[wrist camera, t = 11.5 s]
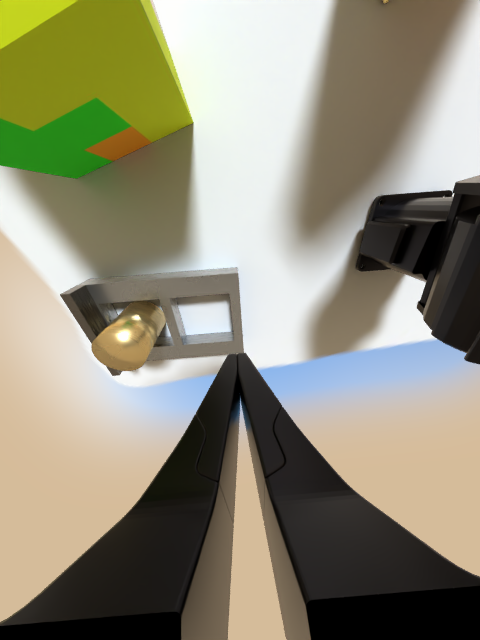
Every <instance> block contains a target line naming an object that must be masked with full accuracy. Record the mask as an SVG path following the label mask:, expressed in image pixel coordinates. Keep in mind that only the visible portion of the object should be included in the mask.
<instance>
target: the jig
mask: <svg viewBox="0 0 480 640" xmlns="http://www.w3.org/2000/svg"><path fill="white" fill-rule="evenodd" d="M217 294H230V304H231V313H232V323H233V332H224V333H211V334H199V335H187V336H186V333H185V330H184V326H183V323H182V319H181V315H180V312H179V308H178V305H177V301H176V298H179V297H192V296H204V295H217ZM60 296H61V297H62V299H63V300H64V302H65V303H66V305H67V306H68V308H69V309H70V311H71V313H72V314H73V316H74V317H75V319H76V320H77V322H78V323H79V325H80V326H81V328H82V330H83V331H84V333H85V334H86V336H87V337H88V339H89V340H90V342H91V343H92V342H93V341H94V340H95V339H96V338H97V337H98V336H99V335H100V334H101V333H102V332H103V331H104V330H105V329H106V328H107V326H108V325H109V324H110V323H111V322H112V321H113V320H114V319H115V318H116V317H117V316H118V315H117V313H116V311H115V309H114V307H113V305H112V303H116V302H129V301H141V300H154V299H159V301H160V304H161V307H162V310H163V313H164V316H165V319H166V322H167V325H168V328H169V331H170V334H171V337H162V338H158V339H157V340H156V342H155V344H154V346H153V348H152V350H151V352H150V354H149V355H148V357H147V359H146V361H150V360H162V359H174V358H186V357H198V356H210V355H222V354H235V353H244V349H243V335H242V321H241V307H240V293H239V279H238V268H237V267H236V268H223V269H210V270H197V271H185V272H172V273H159V274H146V275H134V276H121V277H108V278H95V279H88V280H87V281H85V282H83V283H81V284H79V285H77V286H75V287H73V288H71V289H69V290H68V291H66V292H64V293H62V294H60ZM107 368H108V370H109V371H110V373H111V374H112V376H116V375H120V374H121V372H122V371H121V370H116V369H113V368H110V367H108V366H107Z"/></svg>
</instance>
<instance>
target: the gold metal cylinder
mask: <svg viewBox="0 0 480 640" xmlns="http://www.w3.org/2000/svg"><path fill="white" fill-rule="evenodd" d="M165 322H166V319H165V316H164V313H163V312H162V310H161V309H160V308H159V307H158V306H156V305H155V304H153V303H150V302H147V301H135V302H132V303H131V304H129V305H128V306H127V307H126V308H125V309H124V310H123V311H122V312H121V313H120V314H119V315H118V316H117V317H116V318H115V319H114V320H113V321H112V322H111V323H110V324H109V325H108V326H107V328H106V329H105V330H104V331H103V332H102V333H101V334H100V335H99V336H98V337H97V338H96V339H95V340H94V341H93V342H92V352H93V354H94V356H95V357H96V358H97V359H98V360H99V361H100V362H101V363H103V364H104V365H106V366H108V367H110V368H113V369H116V370H121V371H132V370H136V369H138V368H140V367H142V366H143V364H144V363H145V361H146V359H147V357H148V355H149V354H150V352H151V350H152V348H153V346H154V344H155V342H156V340H157V339H158V337H159V335H160V333H161V331H162V329H163V327H164V326H165Z"/></svg>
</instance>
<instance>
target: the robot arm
mask: <svg viewBox="0 0 480 640" xmlns="http://www.w3.org/2000/svg"><path fill="white" fill-rule="evenodd" d="M453 193H455V194H454V197H452V191H450V190H446V191H433V192H420V193H407V194H393V195H381V196H378V197H377V198H376V199H375V200H374V203H373V206H372V210H371V213H370V217H369V220H368V224H367V225H366V229H365V233H364V236H363V240H362V243H361V247H360V251H359V252H360V253H359V256H358V260H357V264H356V269H357V270H358V271H373V270H386V269H393V270H396V271H398V272H401V273H403V274H406V275H409V276H411V277H414V278H416V279H419V280H421V281H424V282H426V285H425V288H424V291H423V294H422V297H421V300H420V301H418V304H417V309H418V310H419V311H420V312H421V313H422V315H423V319H424V321H425V323H426V324H427V325H428V326H429V328H430V329H431V330H432V332H431V334H432V335H433V336H434V337H435V338H437V339H438V340H440V341H442V342H443V343H445V344H447V345H449V346H451V347H453V348H455V349H458V350H460V351H463V352H465V353H467V354H466V356H465V358H464V359H465V360H466V361H468V362H472V363H476V364H480V175H479V176H476V177H472V178H469V179H465V180H462V181H458V182H456V183H455V186H454V190H453ZM444 195H445V196H444ZM381 199H382V203H381V204H380V205H379V202H380V200H381ZM362 264H363V266H362V267H361V265H362ZM240 398H241V405H242V410H243V415H244V420H245V426H246V431H247V436H248V441H249V447H250V452H251V457H252V462H253V468H254V473H255V478H256V483H257V488H258V493H259V498H260V504H261V509H262V515H263V520H264V525H265V530H266V535H267V540H268V546H269V551H270V557H271V562H272V567H273V572H274V577H275V583H276V588H277V593H278V598H279V604H280V609H281V614H282V620H283V625H284V630H285V636H286V639H287V640H480V577H479V576H477V575H474V574H472V573H470V572H468V571H465V570H464V569H462V568H460V567H458V566H457V565H455V564H454V563H452V562H451V561H449V560H448V559H446V558H444V557H443V556H442V555H440V554H439V553H438V552H436V551H435V550H434V549H432V548H431V547H430V546H428V545H427V544H425V543H424V542H423V541H421V540H420V539H419V538H417V537H416V536H414V535H413V534H412V533H410V532H409V531H408V530H406V529H405V528H404V527H402V526H401V525H400V524H398V523H397V522H395V521H394V520H393V519H392V518H390V517H389V516H387V515H386V514H385V513H383V512H382V511H381V510H379V509H378V508H376V507H375V506H374V505H372V504H371V503H370V502H368V501H367V500H366V499H364V498H363V497H362V496H360V495H359V494H358V493H357V492H355V491H354V490H353V489H352V488H351V487H350V486H349V485H348V484H347V483H346V482H345V481H344V480H343V479H342V478H341V477H340V476H339V475H338V474H337V472H336V471H335V470H334V469H333V468H332V467H331V466H330V464H329V463H328V462H327V461H326V460H325V459H324V457H323V456H322V455H321V454H320V453H319V452H318V451H317V449H316V448H315V447H314V446H313V445H312V444H311V443H310V441H309V440H308V439H307V438H306V437H305V436H304V434H303V433H302V432H301V431H300V429H299V428H298V427H297V426H296V424H295V423H294V422H293V420H292V419H291V417H290V416H289V415H288V413H287V412H286V410H285V409H284V408H283V407H282V405H281V403H280V402H279V400H278V399H277V398H276V396H275V395H274V393H273V392H272V390H271V389H270V387H269V386H268V385H267V383H266V382H265V380H264V379H263V377H262V376H261V374H260V373H259V372H258V370H257V369H256V367H255V366H254V364H253V363H252V361H251V360H250V359H249V357H248V356H247V354H246V353H238V354H236V353H235V354H228V356H227V357H226V359H225V361H224V363H223V365H222V367H221V368H220V370H219V372H218V374H217V376H216V377H215V379H214V381H213V383H212V385H211V387H210V388H209V390H208V392H207V394H206V396H205V398H204V399H203V401H202V403H201V405H200V407H199V408H198V410H197V412H196V415H195V416H194V418H193V420H192V421H191V423H190V425H189V426H188V428H187V430H186V431H185V433H184V435H183V436H182V438H181V440H180V441H179V443H178V444H177V446H176V447H175V449H174V450H173V452H172V453H171V455H170V456H169V457H168V459H167V460H166V462H165V463H164V465H163V466H162V468H161V469H160V471H159V472H158V473H157V475H156V476H155V478H154V479H153V481H152V482H151V484H150V485H149V487H148V488H147V489H146V491H145V492H144V494H143V495H142V496H141V498H140V499H139V500H138V501H137V503H136V504H135V505H134V506H133V507H132V509H131V510H130V511H129V512H128V513H127V514H126V515H125V516H124V517H123V518H122V519H121V520H120V521H119V522H118V523H116V524H115V525H114V527H112V528H111V529H110V530H109V531H108V532H107V533H105V534H104V535H103V536H102V537H101V538H100V539H99V540H98V541H97V542H96V543H95V544H93V545H92V546H91V547H90V548H89V549H88V550H87V551H86V552H85V553H84V554H82V556H80V557H79V558H78V559H77V560H76V561H75V562H74V563H73V564H72V565H70V566H69V567H68V568H67V569H66V570H65V571H64V572H63V573H62V574H61V575H59V576H58V577H57V578H56V579H55V580H54V581H53V582H52V583H51V584H50V585H48V587H46V588H45V589H44V590H43V591H42V592H41V593H40V594H39V595H37V596H36V597H35V598H34V599H33V600H31V601H30V602H29V603H28V604H27V605H26V606H24V607H23V608H22V609H20V610H19V611H17V612H16V613H14V614H13V615H12V616H10V617H9V618H7V619H5V620H3V621H2V622H0V640H227V639H228V618H229V600H230V583H231V565H232V546H233V545H232V544H233V528H234V526H233V523H234V508H235V507H234V506H235V489H236V470H237V453H238V434H239V416H240Z"/></svg>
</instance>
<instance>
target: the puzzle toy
mask: <svg viewBox="0 0 480 640" xmlns="http://www.w3.org/2000/svg"><path fill="white" fill-rule="evenodd" d="M192 123H193V120H192V117H191V114H190V111H189V108H188V105H187V102H186V99H185V96H184V93H183V90H182V87H181V84H180V81H179V78H178V75H177V72H176V69H175V66H174V63H173V60H172V57H171V54H170V51H169V48H168V45H167V42H166V39H165V36H164V33H163V30H162V27H161V24H160V21H159V18H158V15H157V12H156V9H155V6H154V3H153V0H0V165H1V166H7V167H12V168H18V169H24V170H30V171H35V172H41V173H47V174H52V175H58V176H64V177H70V178H75V179H77V178H79V177H81V176H83V175H85V174H88V173H90V172H92V171H94V170H96V169H98V168H100V167H102V166H104V165H106V164H108V163H111V162H113V161H115V160H117V159H119V158H121V157H123V156H125V155H127V154H129V153H131V152H134V151H136V150H138V149H140V148H142V147H144V146H146V145H148V144H150V143H152V142H154V141H157V140H159V139H161V138H163V137H165V136H167V135H169V134H171V133H173V132H175V131H177V130H180V129H182V128H184V127H186V126H188V125H190V124H192Z"/></svg>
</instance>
